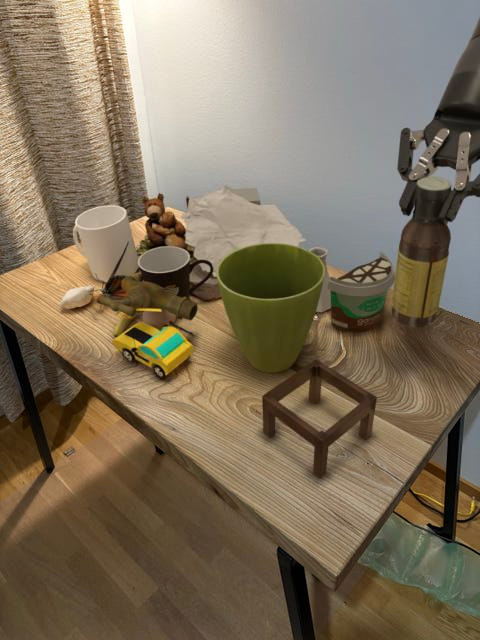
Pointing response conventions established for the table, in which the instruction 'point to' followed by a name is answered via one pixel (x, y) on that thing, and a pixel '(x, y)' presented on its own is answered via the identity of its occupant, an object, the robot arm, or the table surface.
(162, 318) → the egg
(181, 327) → the stick
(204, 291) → the ceramic tile fragment
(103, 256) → the mug
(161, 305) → the action figure
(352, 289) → the food container
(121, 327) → the banana
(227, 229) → the paper
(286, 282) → the flower pot
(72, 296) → the dumpling
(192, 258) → the bear figurine
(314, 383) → the open square stand
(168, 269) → the coffee mug
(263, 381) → the table surface
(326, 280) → the flask
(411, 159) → the robot arm
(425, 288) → the sauce bottle
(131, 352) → the toy car
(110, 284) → the butterfly
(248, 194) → the toy
